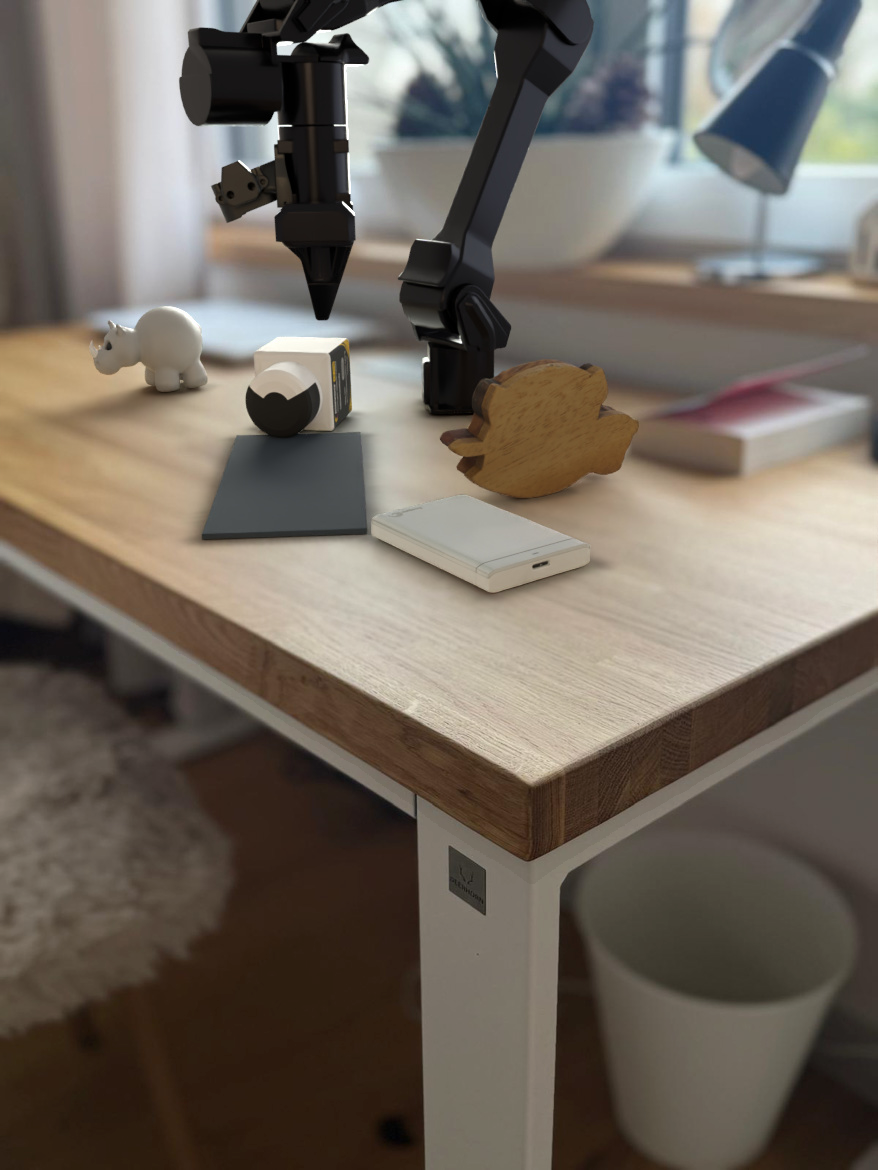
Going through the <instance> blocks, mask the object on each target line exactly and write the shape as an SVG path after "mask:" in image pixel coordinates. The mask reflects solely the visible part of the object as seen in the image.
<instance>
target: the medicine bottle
mask: <svg viewBox="0 0 878 1170" xmlns="http://www.w3.org/2000/svg"><path fill="white" fill-rule="evenodd" d="M350 354H351V353H350V340H349V339H348V338H346V337H311V336H310V337H309V336H277V337H275V338H274V339H273V340H271V341H270V342H268V343H266V344H265V345H263V346H262V347H260V348H259V349H257V350H255V351H254V352H253V355H252V356H253V366H254V377H253V379H252V380H251V381H250V382H249V384H248V386H247V388H246V391H245V398H244V400H245V409H246V412H247V414H248V416H249V419H250V420H251V421H252V423H253V424H254V425H255V426H256V427H257V429H259V430H260V431H261V432H263V434H265V435H271V436H274V437H279V438H286V437H291V436H294V435H296V434H300V433H301V432H302V431H318V432H319V431H320V432H323V431H324V432H333V431H334V430H335V428H337V427H338V426H339V425H340V423H341V422H342V421H343V420H344V419H346V417H347V416H348V415H349V414H351V412H352V411H353V400H352V399H353V398H352V396H353V395H352V378H351V358H350Z"/></svg>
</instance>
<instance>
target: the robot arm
mask: <svg viewBox="0 0 878 1170" xmlns="http://www.w3.org/2000/svg"><path fill="white" fill-rule="evenodd" d="M397 2H403V0H256V1H255V3H254V5H253V7H252V8H251V10H250V11H249V14H248V16H247V17H246V18H245V21H244V23H243V24H242V26H241V28H240V30H239V31H225V30H221V29H218V28H214V27H201V26H200V27H195V28H189V30H188V31H187V39H188V47H187V48H186V51H185V53H184V56H183V59H182V63H181V64H182V65H181V76H179V78H178V85H179V94H180V100H181V104H182V107H183V110H184V113H185V115H186V117H187V119H188V120H189V121H190V123H192V125H194V126H195V127H264V126H265V127H266V125H268V124H269V123H270V122H271V120H273V117H274V114H275V113H276V114H277V115H276V116H277V134H278V139H277V140H276V142H277V143H274V144H273V155H274V159H273V160H270V161H268V162H266V163H263V164H260V165H257V166H256V167H253V168H252V169H250V168H249V167H248V166H247V165H245V164H244V163H243V162H242V161H241V160H236V161H233V162H231V163H228V164H226V165H225V166H222V167H221V171H220V173H221V174H220V181H219V182H217V183H214V184H212V185H210V187H211V190H212V192H213V195H214V199H215V202H216V203H217V204H218V206H219V208H220V210H221V213H222V215H223V218H224V220H225V222H226V224H228V223H231V222H234V221H237V220H239V219H241V218H243V216H245V215H246V214H247V213H250V212H252V211H254V210H257V209H260V208H262V207H264V206H267V205H269V204H272V203H274V202H276V208H279V209H280V210H278V212H277V213H276V214H275V215H274V217H273V218H274V231H275V233H274V234H275V242H276V243H281V244H282V245H283V246H284V247H286V248H287V249H288V250H289V251H290V252H291V253H293V254H294V256H296V257H297V258H298V259H299V260H300V262H301V266H302V271H303V274H304V278H305V280H306V286H307V289H308V294H309V298H310V302H311V305H312V309H313V313H314V317H315V320H316V321H318V322H319V321H323V322H324V321H329V319H330V317H331V313H332V310H333V307H334V305H335V304H334V303H335V300H336V298H337V295H338V291H339V290H340V289H339V288H340V286H341V283H342V280H343V276H344V273H345V270H346V267H347V264H348V261H349V258H350V254H351V252H352V249H353V246H354V243H355V241H356V240H357V239H356V235H357V234H356V214H355V212H354V203H353V202H352V198H351V197H352V196H351V173H350V146H349V145H350V143H349V127H348V125H349V124H348V99H347V98H348V96H347V95H348V93H347V72H346V70H347V68H349V67H359V66H367V65H369V63H370V56H369V55H368V54H367V53H366V52H365V51H364V50H363V49H362V48H361V47H360V46H359V45H357V43H356V42H355V41H354V39H353V38H352V35H351V34H350V33H349V32H346V33H338V34H333V35H332V37H331V39H330V40H329V41H328V42H311V41H310V42H309V40H310V39H311V38H312V37H313V36H314V35H316V34H319V33H326V32H331V31H335V30H338V29H341V28H343V27H345V26H347V25H349V24H352V23H354V22H356V21H358V20H360V19H363V18H365V17H367V16H368V15H370V14H371V13H373V12H374V11H377V10H378V9H379V8H382V7H384V6H387V5H388V4H392V3H397ZM475 2H476V4H477V7H478V9H479V12H480V14H481V17H482V18H483V20H484V22H485V23H486V24H487V25H488V26H489V27H490V28H491V29H492V30H493V31H494V32H495V33H496V34H497V35H496V39H495V44H494V47H493V54H494V63H495V71H496V79H497V80H496V84H495V87H494V90H493V92H492V95H491V97H490V100H489V103H488V106H487V109H486V111H485V114H484V116H483V119H482V121H481V125H480V127H479V130H478V132H477V135H476V138H475V140H474V143H473V146H472V149H471V151H470V155H469V156H468V159H467V162H466V165H465V168H464V170H463V173H462V176H461V178H460V182H459V184H458V186H457V189H456V190H455V191H456V192H455V193H454V197H453V199H452V201H451V204H450V207H449V210H448V212H447V216H446V219H445V221H444V224H443V225H442V227H441V229H440V230H439V232H437V234H436V235H435V236H434V237H433V238H432V239H431V240H429V239H419V238H415V239H414V240H413V242H412V245H411V246H410V250H409V254H408V258H407V261H406V265H405V267H404V268H403V271H402V272H401V273H400V274H399V275H398V277H397V280H398V281H399V282H401V285H400V290H399V298H398V299H399V304H400V305H401V308H402V311H403V314H404V316H405V317H406V318H407V321H409V322H410V325H411V327H412V331H413V334H414V337H415V339H416V341H419V342H426V347H427V348H426V349H427V351H426V352H427V353H426V354H427V355H426V357H422V359H421V399H422V403H423V404H424V405H425V406H427V409H428V411H429V414H430V415H451V414H455V415H456V414H474V410H473V408H472V397H473V393H474V391H475V389H476V387H477V385H478V383H479V382H480V381H481V380H482V379H485V378H486V379H492V378H493V377H495V351H496V350H498V349H504V348H506V347H507V345H508V343H509V342H508V341H509V338H510V335H511V331H512V324H511V323H510V321H509V320H507V319H506V317H505V316H504V315H503V314H502V312H501V311H500V310H499V309H498V307H496V305H495V304H494V303H493V302H492V301H491V298H492V294H493V289H494V285H495V281H496V280H495V279H496V275H495V269H494V267H495V266H494V258H493V244H494V241H495V239H496V236H497V234H498V231H499V228H500V225H501V223H502V220H503V218H504V215H505V212H506V210H507V207H508V205H509V202H510V199H511V197H512V194H513V192H514V188H515V186H516V184H517V181H518V179H519V176H520V172H521V170H522V167H523V165H524V162H525V160H526V157H527V154H528V152H529V149H530V147H531V145H532V142H533V138H534V136H535V133H536V130H537V128H538V125H539V122H540V121H541V117H542V115H543V112H544V109H545V106H546V104H547V103H548V100H549V99H550V97H552V95H553V94H555V92H556V91H557V90H558V89H559V88H560V87H561V86H562V85H563V84H564V83H565V82H566V81H567V80H568V79H569V78H570V77H571V76H572V75H573V74H574V72H575V70H576V68H577V67H578V65H579V63H580V61H581V60H582V58H583V56H584V54H585V52H586V51H587V48H588V47H589V45H590V42H591V40H592V37H593V34H594V33H593V32H594V23H595V21H594V18H592V14H591V9H590V6H589V4H588V1H587V0H475ZM293 44H294V45H295V44H297V45H295V47H294V48H293V49H292V51H291V53H290V55H289V54H278V47H279V46H287V45H293Z"/></svg>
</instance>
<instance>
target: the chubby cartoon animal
mask: <svg viewBox="0 0 878 1170" xmlns="http://www.w3.org/2000/svg"><path fill="white" fill-rule="evenodd" d="M107 325H108V326H109V331H108V332H107V333H106V334H105V336H104V337H103V345H100V344H99V345H98V346H97V347H98V349H97V348H96V347H95V345H94V341H93V340H90V343H89V346H88V350H89V351H88V352H89V354H90V356H91V358H92V359H93V364H94V365H93V366H94V367H95V369H96V371H98V372H99V373H100V374H101V375H106V376H112V375H115V374H116V373H118V372H120V370H121V369H122V368H130V367H134V366H136V365H137V364H139V363H141V365H142V366H144V367H145V368H144V380H145V383H146V385H148V386H152V387H155V388H156V391H158V392H163V393H171V392H175V391H178V390H179V389H180V388H181V381H182V382H183V385H184V387H186V388H188V389H194V388H200V387H203V386H206V385H207V384H208V375H207V371H206V369H205V367H204V365H203V363H202V361H201V356H202V355H201V354H202V351H203V345H204V343H203V329H202V327H201V325H200V324H199V323H198V322H197V321H196V320H195V319H194V318H193V317H192V316H191V315H190V314H189V313H188V312H186V311H184V310H182V309H180V308H178V307H176V306H175V307H174V306H169V305H167V306H166V305H165V306H164V305H162V306H158V307H154V308H152V309H149V310H148V311H146V312H145V313H144V314H142V316H140V318H138V321H137V322H136V324H135V326H134V328H130V327H128V326H121V324H118V323H117V324H115V322H113V321H112V320H108V321H107Z"/></svg>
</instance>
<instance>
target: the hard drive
mask: <svg viewBox="0 0 878 1170" xmlns="http://www.w3.org/2000/svg"><path fill="white" fill-rule="evenodd" d="M370 523H371V524H370V526H371V527H370V528H371V529H370V531H371V536H372V537H373V538H377V539H379V540H380V541H382V542H385V543H387V544H389V545H390V546H393V547H394V548H397V549H399V550H401V551H403V552H405V553H407V554H410V555H412V556H414V557H415V558H418V559H419V560H422V561H424V562H426V563H428V564H430V565H432V566H434V567H437V568H438V569H441V570H442V571H445V572H447V573H449V574H451V575H453V576H455V577H457V578H459V579H461V580H462V581H465V582H468V583H470V584H471V585H474V586H476V587H478V588H479V589H482V590H484V591H486V592H487V593H495V594H496V593H500V592H502V591H505V590H508V589H512V588H515V587H519V586H522V585H525V584H528V583H532V582H535V581H538V580H542V579H545V578H548V577H551V576H554V575H558V574H562V573H564V572H568V571H572V570H575V569H578V568H579V569H580V568H582V567H584V566H587V564H589V563H590V562H591V544H590V543H587V542H585V541H582V540H579V539H577V538H575V537H573V536H570V535H567V534H565V533H562V532H560V531H557V530H555V529H553V528H550V527H548V526H545V525H544V524H540V523H538V522H535V521H533V520H530V519H529V518H526V517H523V516H522V515H521V516H520V515H519V514H516V513H513V512H510V511H507V510H505V509H503V508H500V507H498V506H495V505H493V504H491V503H488V502H486V501H483V500H481V499H478V498H476V497H473V496H470V495H468V494H464V493H463V494H458V495H453V496H448V497H445V498H441V499H437V500H432V501H428V502H423V503H421V504H416V505H412V506H408V507H404V508H399V509H396V510H391V511H388V512H383V513H379V514H375V516H373V517H372V518H371V522H370Z"/></svg>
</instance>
